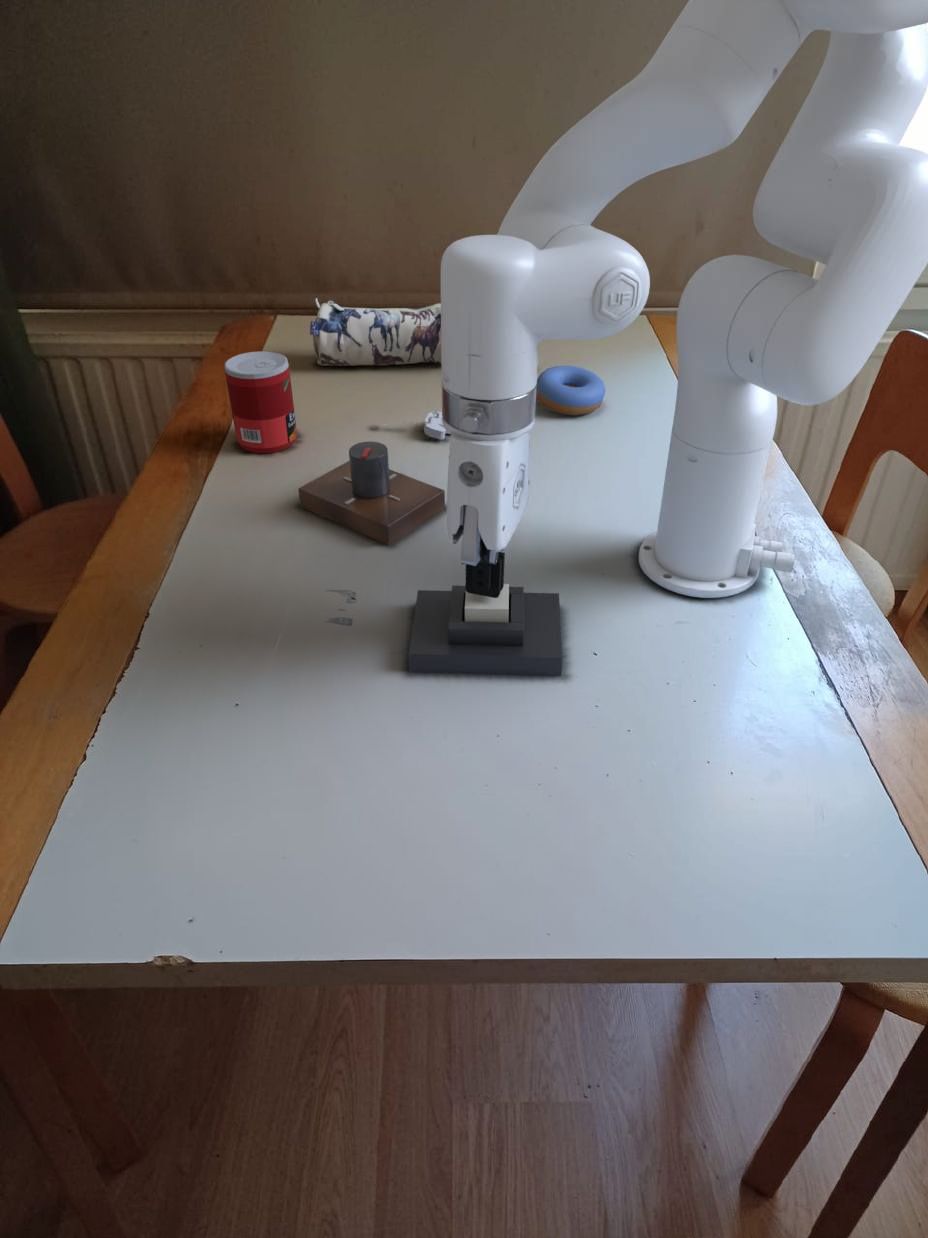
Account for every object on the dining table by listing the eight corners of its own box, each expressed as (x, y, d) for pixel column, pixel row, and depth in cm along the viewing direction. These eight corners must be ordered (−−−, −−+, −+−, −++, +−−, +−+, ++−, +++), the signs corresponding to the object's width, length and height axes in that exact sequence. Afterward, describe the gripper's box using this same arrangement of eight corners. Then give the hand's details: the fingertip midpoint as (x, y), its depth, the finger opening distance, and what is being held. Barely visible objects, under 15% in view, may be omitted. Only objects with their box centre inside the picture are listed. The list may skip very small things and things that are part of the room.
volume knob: (357, 478, 108) (353, 437, 105) (393, 481, 107) (391, 440, 104) (348, 496, 104) (344, 455, 101) (385, 499, 104) (382, 457, 101)
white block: (508, 598, 87) (508, 583, 86) (508, 624, 83) (508, 608, 82) (466, 597, 87) (466, 582, 86) (464, 623, 84) (464, 608, 83)
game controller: (463, 440, 121) (462, 422, 120) (377, 447, 120) (375, 429, 118) (456, 421, 126) (455, 404, 124) (373, 429, 124) (371, 411, 123)
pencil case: (312, 374, 139) (305, 311, 133) (318, 353, 146) (312, 292, 140) (455, 372, 139) (454, 309, 134) (454, 351, 146) (453, 290, 140)
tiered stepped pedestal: (557, 610, 91) (559, 578, 89) (561, 676, 83) (564, 642, 81) (418, 607, 92) (417, 575, 89) (409, 672, 84) (407, 638, 81)
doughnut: (617, 411, 128) (620, 380, 125) (556, 425, 125) (557, 393, 122) (580, 386, 135) (582, 356, 132) (521, 398, 132) (522, 368, 129)
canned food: (304, 448, 120) (294, 368, 113) (243, 459, 117) (229, 377, 111) (290, 424, 125) (280, 347, 119) (232, 434, 123) (219, 355, 116)
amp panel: (445, 508, 107) (444, 488, 105) (389, 545, 101) (387, 525, 99) (358, 474, 114) (356, 455, 112) (300, 506, 108) (297, 487, 106)
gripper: (509, 450, 66) (501, 647, 77) (555, 374, 77) (543, 555, 88) (412, 436, 68) (418, 630, 79) (471, 364, 79) (469, 542, 90)
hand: (484, 590), depth 84 cm, fingers closed
